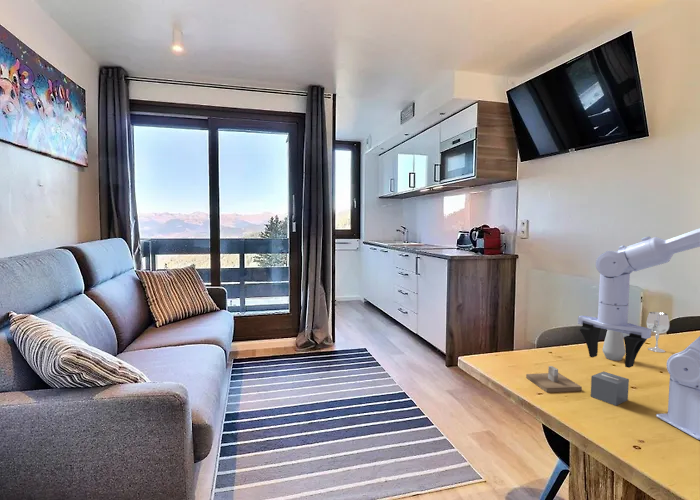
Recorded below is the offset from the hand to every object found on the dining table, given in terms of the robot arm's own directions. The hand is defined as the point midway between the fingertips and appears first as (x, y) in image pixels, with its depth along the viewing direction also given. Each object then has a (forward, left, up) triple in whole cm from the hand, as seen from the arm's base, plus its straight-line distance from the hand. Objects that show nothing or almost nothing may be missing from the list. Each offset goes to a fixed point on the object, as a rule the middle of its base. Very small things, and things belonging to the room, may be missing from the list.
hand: (610, 361), depth 90 cm
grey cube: (0, 0, -9) cm, 9 cm away
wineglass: (+31, -42, -9) cm, 53 cm away
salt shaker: (+25, -22, -9) cm, 34 cm away
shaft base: (+9, +8, -9) cm, 15 cm away
